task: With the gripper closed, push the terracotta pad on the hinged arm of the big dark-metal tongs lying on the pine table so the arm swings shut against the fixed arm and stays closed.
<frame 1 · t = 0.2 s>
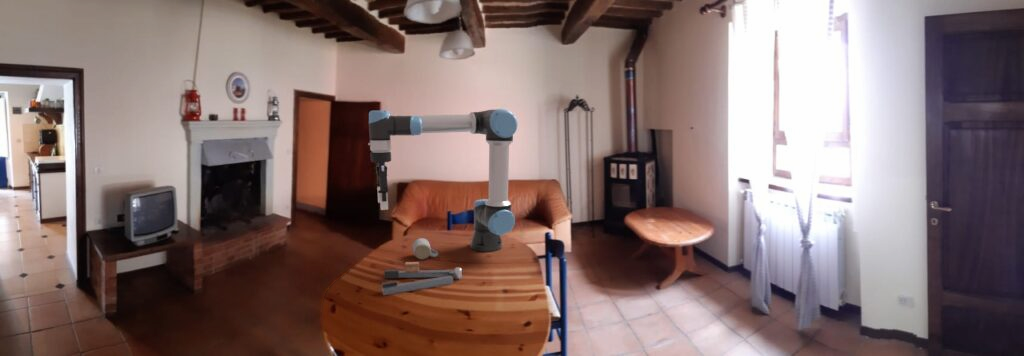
hand: (382, 206, 157), 27 cm above the table, tool pointing down, fingers open, 13 cm apart
tong arm: (423, 270, 155), point 3 cm above the table, hinge at -22.0°
ceramic mug: (425, 257, 179), on the table
tong fixed arm: (458, 279, 154), on the table
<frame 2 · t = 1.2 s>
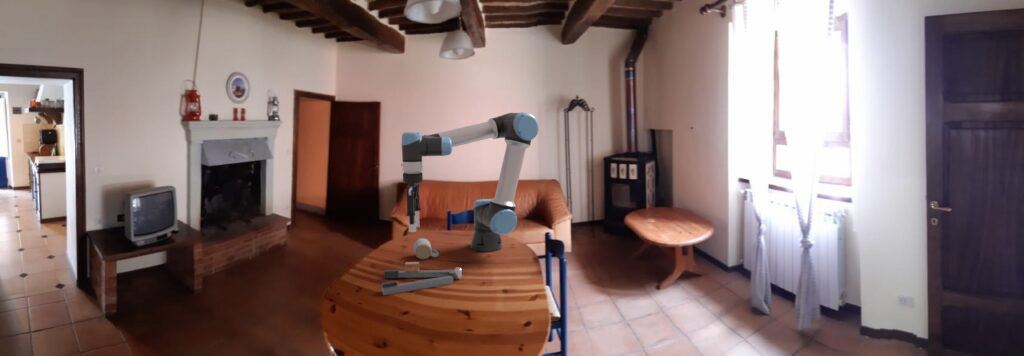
hand: (414, 229, 161), 17 cm above the table, tool pointing down, fingers open, 6 cm apart
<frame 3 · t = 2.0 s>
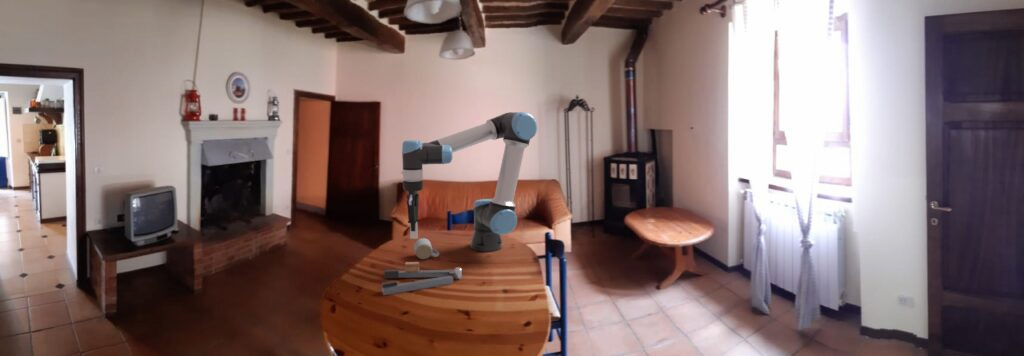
hand: (413, 238, 162), 13 cm above the table, tool pointing down, fingers closed
nothing on the table moved.
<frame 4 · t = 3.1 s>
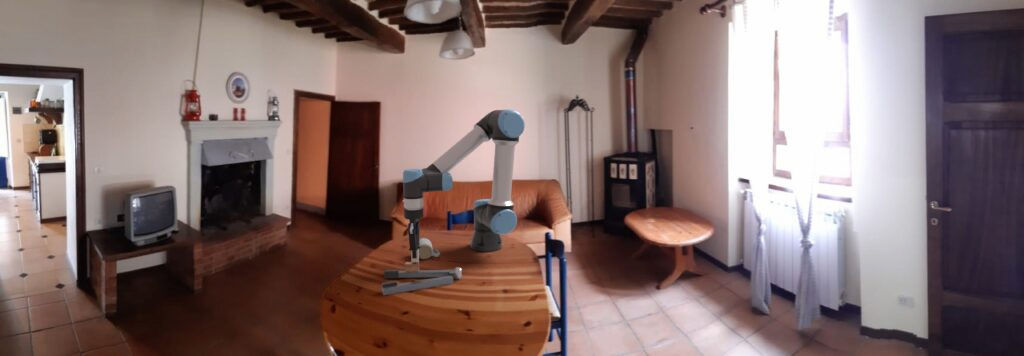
hand: (415, 264, 163), 2 cm above the table, tool pointing down, fingers closed
nothing on the table moved.
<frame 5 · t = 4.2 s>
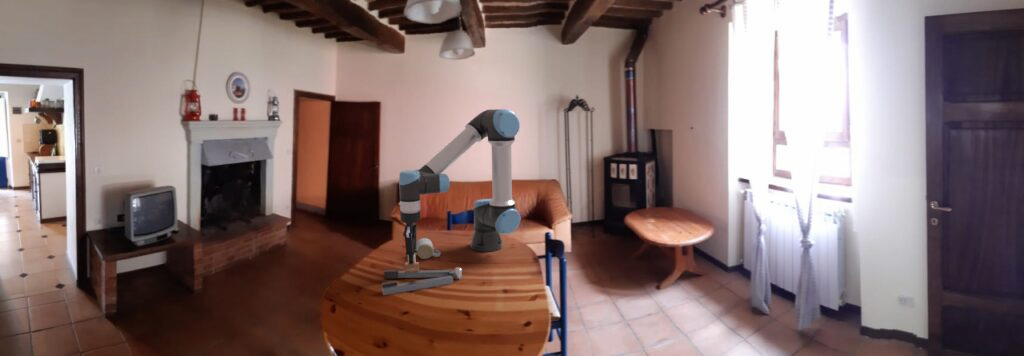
hand: (411, 269, 158), 2 cm above the table, tool pointing down, fingers closed
tong arm: (423, 270, 155), point 3 cm above the table, hinge at -21.4°, touching gripper
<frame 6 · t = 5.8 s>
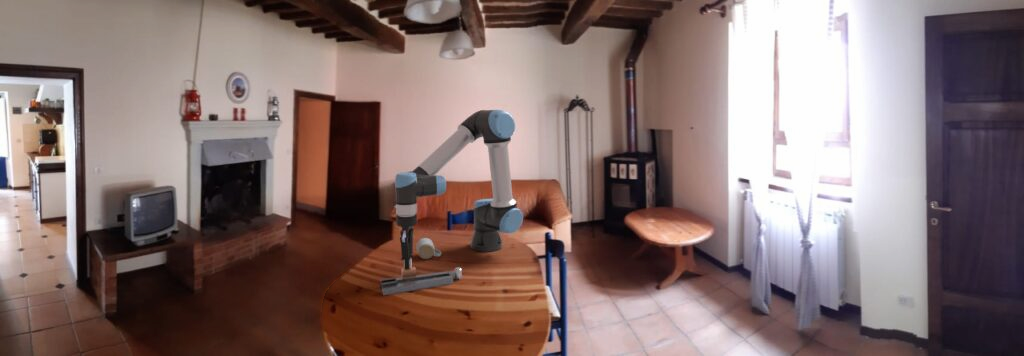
hand: (407, 275, 153), 2 cm above the table, tool pointing down, fingers closed
tong arm: (422, 275, 151), point 3 cm above the table, hinge at -3.4°, touching gripper
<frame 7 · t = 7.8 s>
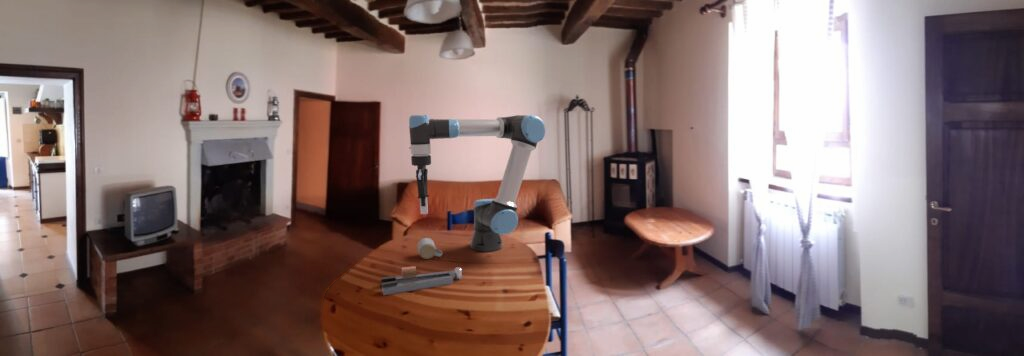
hand: (424, 213, 162), 23 cm above the table, tool pointing down, fingers closed
tong arm: (422, 274, 151), point 3 cm above the table, hinge at -6.2°
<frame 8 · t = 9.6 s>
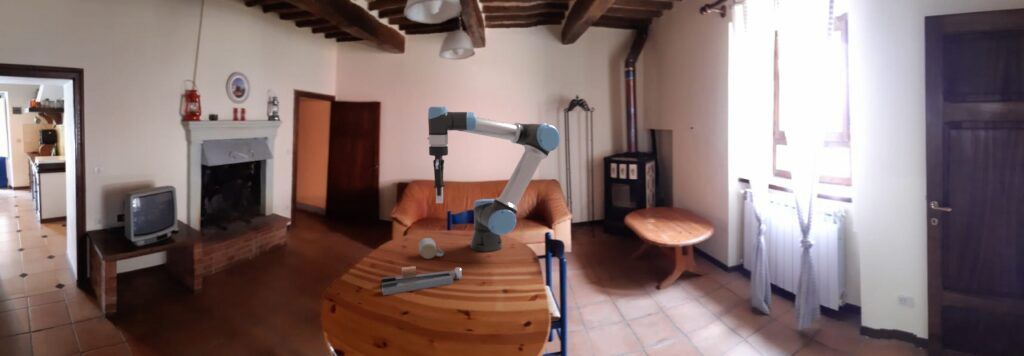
hand: (439, 202, 166), 26 cm above the table, tool pointing down, fingers closed
at the end: tong arm at -6° (first picture: -22°); tong arm touching nothing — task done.
